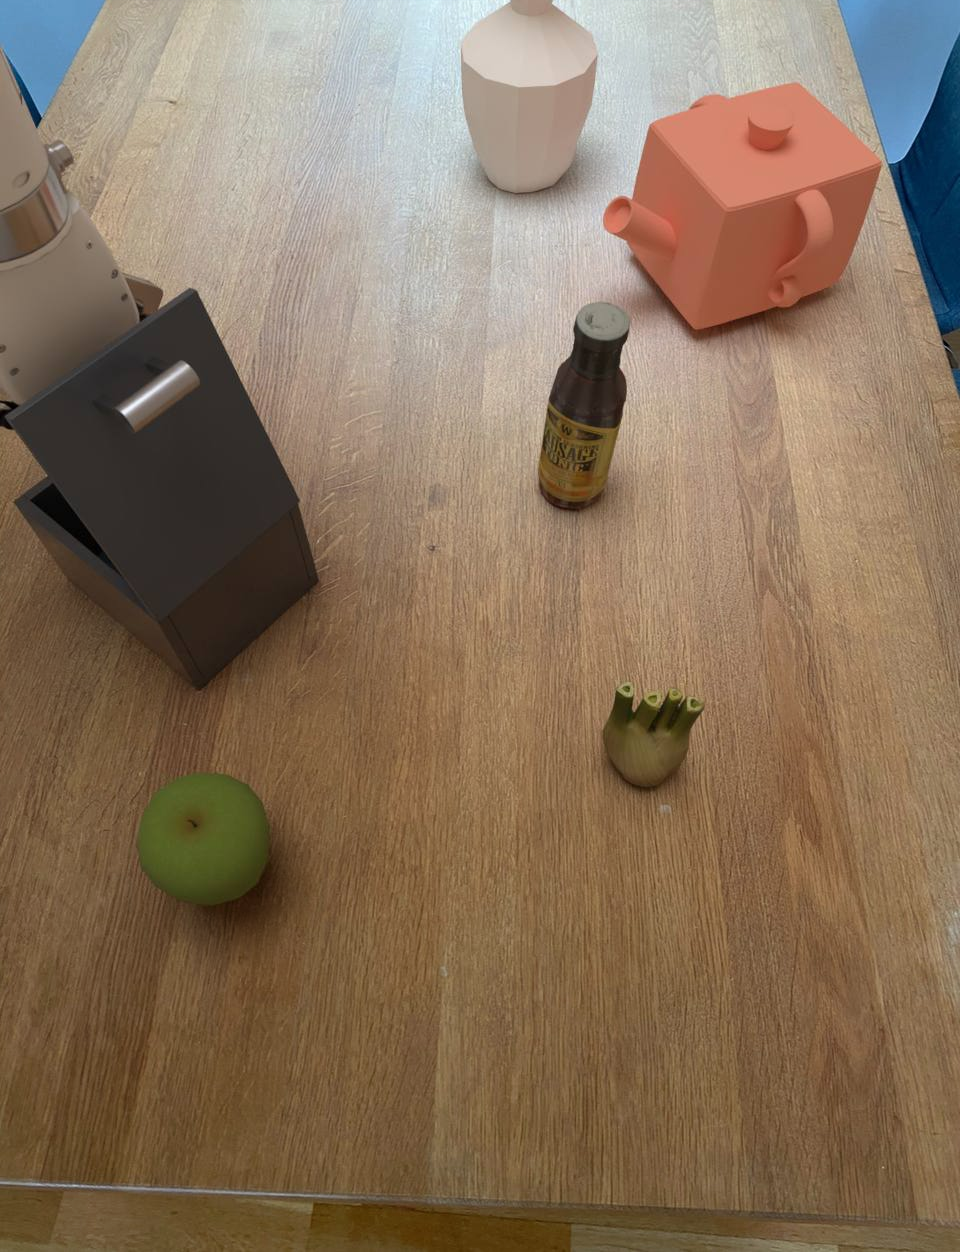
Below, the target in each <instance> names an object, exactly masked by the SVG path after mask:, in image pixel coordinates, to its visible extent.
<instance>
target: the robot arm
mask: <svg viewBox="0 0 960 1252" xmlns="http://www.w3.org/2000/svg"><path fill="white" fill-rule="evenodd" d="M74 162H75V159H74V156H73V154H72V152H71V150H70V149H69V147H68V146H67V144H66V143H65V142H63V141H62V140H61V139H56V140H55V141H53V142H51V143H43V141H42V139H41V136H40V134H39V132H38V128H37V127H36V124H35V122H34V119H33V117H32V115H31V113H30V110H29V107H28V106H27V103H26V100H25V99H24V96H23V94H22V91H21V89H20V86H19V84H18V82H17V80H16V77H15V75H14V73H13V70H12V68H11V66H10V63H9V60H8V58H7V56H6V54H5V52H4V49H3V47H2V44H1V43H0V389H1V391H2V392H3V393H5V394H6V395H7V396H8V397H9V398H10V400H0V428H4V429H6V430H9V431H14V429H13V428H12V426H11V425H10V424H9V422H8V421H7V420H6V418H5V416H6V415H7V414H9V413H10V412H11V411H13V410H14V409H16V408H17V407H19V406H20V405H21V404H23V403H24V402H26V401H27V400H29V399H30V398H32V397H33V396H34V395H36V394H37V393H39V392H40V391H42V390H43V389H44V388H46V387H47V386H49V385H50V384H52V383H53V382H55V381H56V380H57V379H59V378H60V377H62V376H63V375H65V374H66V373H68V372H69V371H70V370H72V369H73V368H75V367H76V366H78V365H79V364H80V363H82V362H83V361H85V360H86V359H88V358H89V357H91V356H92V355H93V354H95V353H96V352H98V351H99V350H101V349H102V348H103V347H105V346H106V345H108V344H109V343H111V342H112V341H114V340H115V339H116V338H118V337H119V336H121V335H122V334H124V333H125V332H126V331H128V330H129V329H131V328H132V327H134V326H135V325H137V324H138V323H139V322H141V321H142V320H144V319H145V318H147V317H148V316H150V315H151V314H152V313H154V312H155V311H157V310H158V309H160V305H161V303H162V300H163V298H164V290H163V289H162V288H161V287H159V286H158V285H156V284H155V283H153V282H152V281H150V280H148V279H145V278H142V277H140V276H136V275H133V274H129V273H126V272H123V271H122V270H121V268H120V266H119V264H118V262H117V260H116V258H115V256H114V254H113V253H112V251H111V249H110V248H109V246H108V244H107V242H106V240H105V239H104V238H103V236H102V234H101V233H100V230H99V229H98V227H97V226H96V225H95V223H94V222H93V220H92V218H91V217H90V215H89V213H88V212H87V211H86V209H85V208H84V206H83V205H82V204H81V202H80V201H79V200H78V198H77V197H76V196H75V195H74V193H72V191H70V190H69V189H67V188H66V187H65V184H64V182H63V178H62V174H63V173H65V171H66V168H67V167H70V166H71V165H73V164H74Z"/></svg>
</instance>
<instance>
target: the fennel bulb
mask: <svg viewBox="0 0 960 1252" xmlns="http://www.w3.org/2000/svg"><path fill="white" fill-rule="evenodd" d="M634 696H635V683H633V682H632V681H625V682H622V683H620V684H618V686H617V687H616V689H615V694H614V701H613V703H612V708H611V711H610V713H609V717H608V718H607V720H606V722H605V724H604V727H603V730H602V742H603V743H602V744H603V745H604V747H605V752H606V753H607V755H608V757H609V760H610V761H611V763H612V764H613V765H614V767H615V768H616V770H617V771H618V773H619V774H620V775H621V776H622V777H623V779H624V780H625V781H626V782H628V783H630V784H632V785H634V786H637V787H643V788H652V787H656V786H659V785H660V784H661V783H663V782H664V780H665V779H666V778H667V776H669V775H672V774H673V773H675V772H676V771H677V769H679V768H680V767H681V766H682V764H683V763H684V761H685V759H686V757H687V755H688V751H689V749H690V737H691V730H692V728H693V726H694V724H695V722H696V721H697V719H698V718H699V716H701V714H702V713H703V712H704V710H705V702H704V701H703V700H702V699H701V698H699V697H696V696H694V695H690V694H687V695H686V696H685V698H684V694H683V692H682V691H681V690H680V689H678V688H676V687H673V686H671V687H669V688H668V691H667V693H666V696H665V698H664V699H663V692H661V691H660V690H659V691H658V690H652V691H650V692H647V693H646V694H644V695H643V696H642V699H641V700H640V702H639V704H638V705H637V708H636V709H635V711H634V710H633V705H634ZM662 699H663V701H662ZM682 699H683V700H682Z"/></svg>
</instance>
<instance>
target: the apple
mask: <svg viewBox="0 0 960 1252" xmlns="http://www.w3.org/2000/svg"><path fill="white" fill-rule="evenodd" d="M270 845H271V831H270V823H269V820H268V817H267V813H266V809H265V806H264V803H263V801H262V800H261V798H260V797H259V796H258V795H257V794H256V792H255V791H254V790H253V789H252V787H251V786H250V785H249V784H248V783H246V782H244V781H241V780H239V779H238V778H235V777H233V776H232V775H229V774H227V773H226V774H225V773H219V772H218V773H216V772H194V773H191V774H187V775H182V776H181V777H177V778H174V779H172V780H171V781H170V782H168V783H167V784H165V785H163V786H162V787H161V788H159V789H158V790H156V791H155V792H154V794H153V795H152V797H151V799H150V800H149V802H148V803H147V806H146V807H145V809H144V811H143V812H142V815H141V819H140V823H139V827H138V832H137V838H136V849H137V853H138V859H139V864H140V865H139V866H140V869H141V870H142V871H143V873H144V874H145V875H146V876H147V878H148V879H149V881H150V882H151V883H152V884H153V885H154V887H155V888H157V889H159V890H160V891H162V892H163V893H165V894H166V895H169V896H170V897H171V898H174V899H175V900H178V901H180V902H183V903H185V904H189V905H202V906H216V905H220V904H224V903H226V902H230V901H231V902H232V901H235V900H238V899H240V898H241V897H243V896H244V895H245V894H246V893H247V892H249V891H250V890H251V889H252V888H254V887H255V886H257V884H259V881H260V878H261V877H262V875H263V872H264V870H265V867H266V866H267V864H268V861H269V852H270Z"/></svg>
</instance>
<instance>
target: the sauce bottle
mask: <svg viewBox="0 0 960 1252" xmlns="http://www.w3.org/2000/svg"><path fill="white" fill-rule="evenodd" d="M630 326H631V321H630V317H629V315H628V314H627V313H626V311H625V310H624V309H623V308H621V307H620V306H618V305H616V304H613V303H611V302H607V301H596V302H590V303H587V304H586V305H583V306H582V307H581V308H580V309H579V310H578V312H577V313H576V316H575V320H574V323H573V326H572V327H573V329H572V332H573V336H574V340H573V344H572V351H571V352H570V355H569V356H568V357H567V358H566V359H565V360H564V361H563V362H562V363H561V364H560V365H559V367H558V368H557V371H556V374H555V376H554V380H553V383H552V386H551V390H550V392H549V396H548V401H547V407H546V413H545V419H544V420H545V421H544V426H543V427H544V428H543V434H542V439H541V446H540V453H539V454H540V455H539V459H538V468H537V476H538V487H539V490H540V491H541V493H542V494H543V496H544V497H545V499H547V501H548V502H549V503H552V504H553V505H554V506H558V507H559V508H563V509H573V510H580V509H583V508H585V507H587V506H589V505H590V504H592V503H594V502H596V501H597V500H599V498H600V496H601V494H602V492H603V490H604V489H605V487H606V484H607V481H608V477H609V473H610V468H611V464H612V460H613V457H614V452H615V448H616V443H617V440H618V437H619V431H620V429H621V424H622V420H623V416H624V407H625V403H626V401H627V395H628V385H627V379H626V376H625V373H624V372H623V370H622V369H621V367H620V366H621V359H622V358H621V357H622V352H623V347H624V345H625V344H626V342H627V340H628V337H629V333H630Z"/></svg>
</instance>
